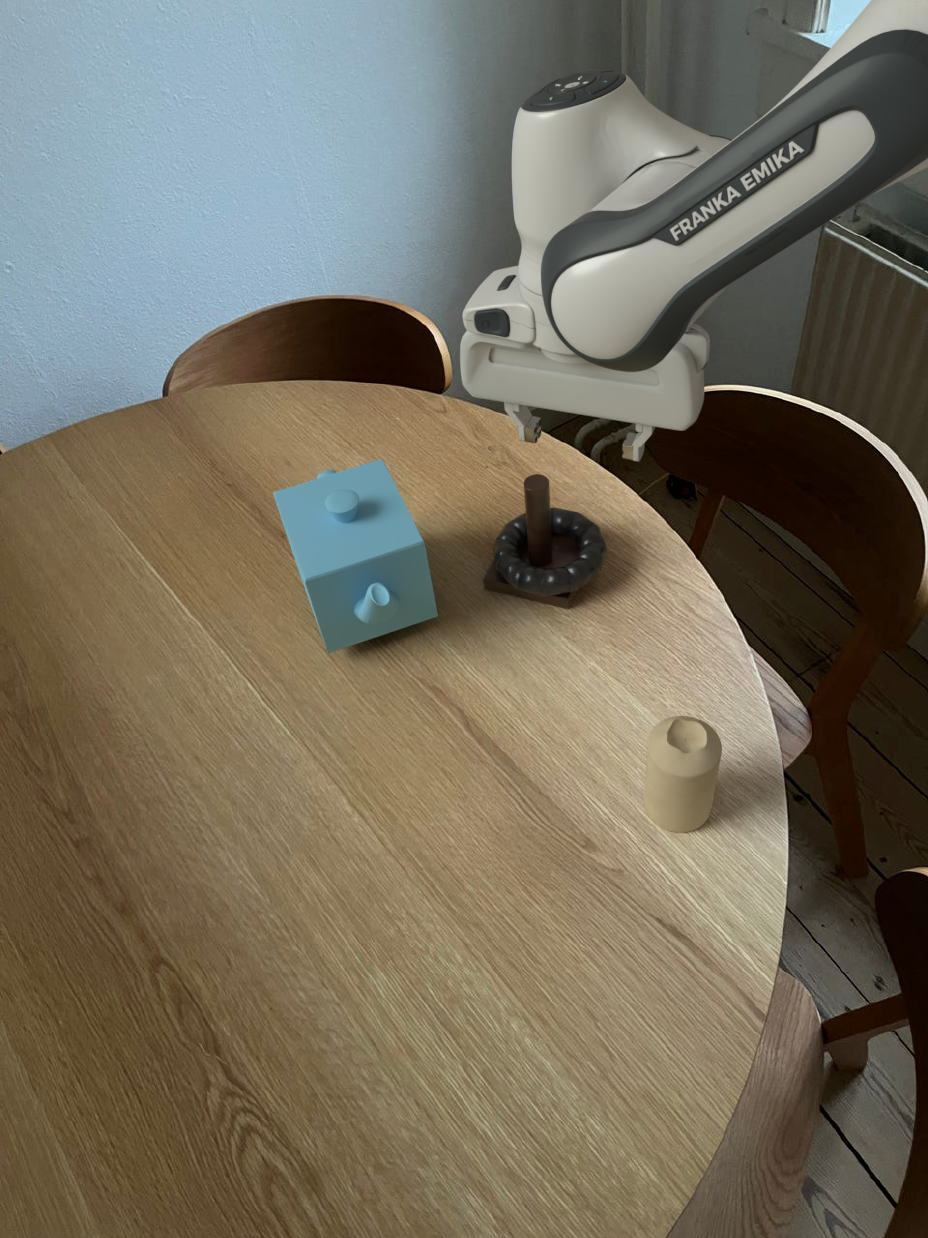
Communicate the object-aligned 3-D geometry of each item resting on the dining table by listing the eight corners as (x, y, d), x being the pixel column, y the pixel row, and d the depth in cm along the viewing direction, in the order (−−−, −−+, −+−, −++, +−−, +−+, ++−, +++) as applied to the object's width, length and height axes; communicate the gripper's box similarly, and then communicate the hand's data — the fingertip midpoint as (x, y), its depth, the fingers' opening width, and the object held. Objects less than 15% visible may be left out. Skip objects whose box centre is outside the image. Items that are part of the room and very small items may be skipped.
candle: (659, 842, 77) (667, 775, 70) (632, 786, 81) (636, 716, 73) (723, 821, 78) (737, 752, 70) (693, 767, 81) (703, 696, 74)
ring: (620, 534, 99) (621, 515, 97) (584, 612, 92) (584, 593, 90) (518, 512, 102) (517, 493, 100) (477, 585, 96) (474, 566, 94)
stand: (597, 548, 100) (597, 461, 91) (568, 609, 95) (566, 523, 86) (516, 530, 103) (509, 444, 94) (484, 589, 98) (473, 503, 89)
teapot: (294, 559, 103) (261, 458, 93) (392, 528, 105) (371, 425, 95) (348, 712, 89) (316, 613, 79) (461, 672, 91) (444, 570, 80)
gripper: (722, 298, 73) (708, 444, 83) (474, 270, 80) (489, 408, 90) (701, 344, 69) (689, 491, 79) (443, 310, 76) (462, 449, 86)
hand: (581, 447), depth 85 cm, fingers open, 8 cm apart
